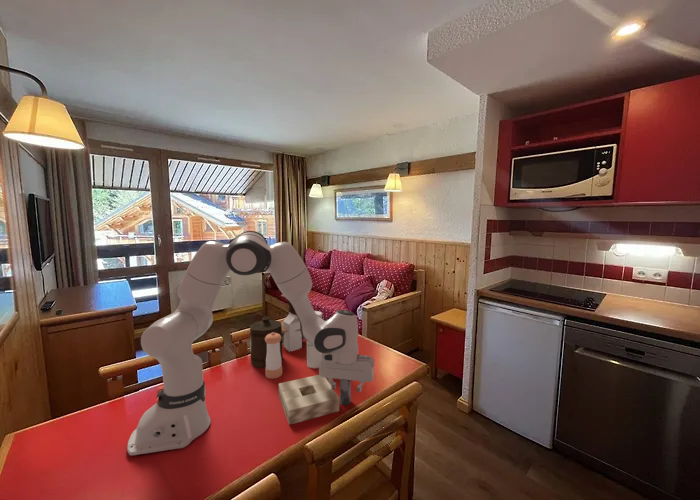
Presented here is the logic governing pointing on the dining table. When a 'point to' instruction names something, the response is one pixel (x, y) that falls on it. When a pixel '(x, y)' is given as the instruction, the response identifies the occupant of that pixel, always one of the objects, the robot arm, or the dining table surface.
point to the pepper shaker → (273, 356)
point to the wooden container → (262, 340)
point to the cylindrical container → (313, 353)
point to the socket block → (307, 398)
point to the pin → (345, 392)
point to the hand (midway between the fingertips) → (346, 389)
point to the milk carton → (292, 333)
